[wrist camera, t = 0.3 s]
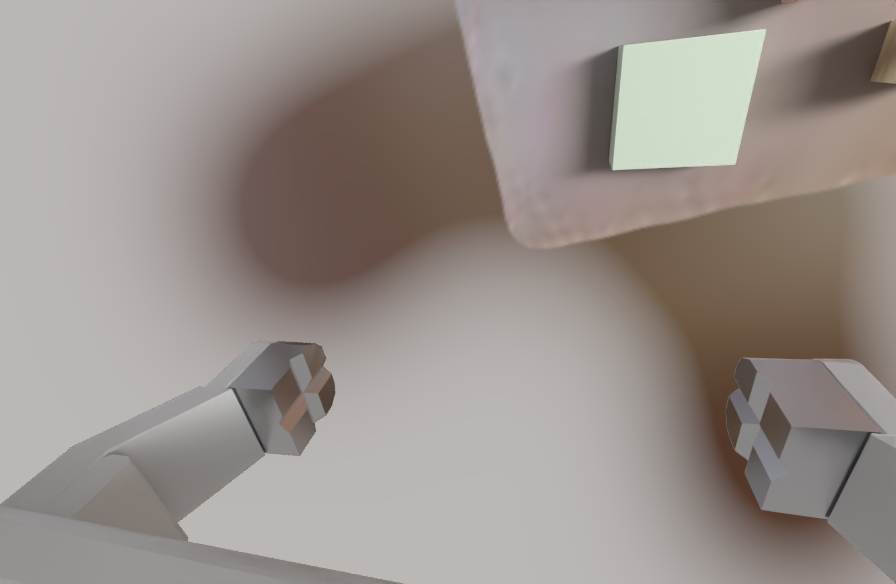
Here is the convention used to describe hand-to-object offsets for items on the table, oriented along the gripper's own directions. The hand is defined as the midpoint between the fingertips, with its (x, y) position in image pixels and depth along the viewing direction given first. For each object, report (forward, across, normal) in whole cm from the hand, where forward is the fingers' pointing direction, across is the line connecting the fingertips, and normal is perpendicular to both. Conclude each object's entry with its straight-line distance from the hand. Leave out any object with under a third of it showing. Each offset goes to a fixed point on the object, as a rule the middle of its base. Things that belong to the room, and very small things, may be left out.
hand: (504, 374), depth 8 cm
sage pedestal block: (+47, -13, +1) cm, 49 cm away
